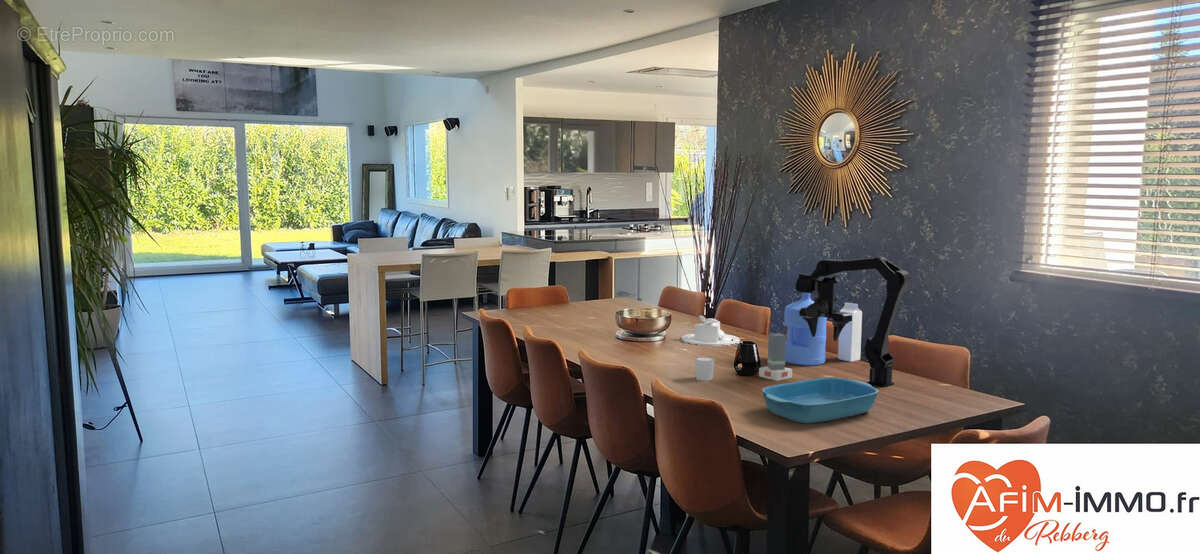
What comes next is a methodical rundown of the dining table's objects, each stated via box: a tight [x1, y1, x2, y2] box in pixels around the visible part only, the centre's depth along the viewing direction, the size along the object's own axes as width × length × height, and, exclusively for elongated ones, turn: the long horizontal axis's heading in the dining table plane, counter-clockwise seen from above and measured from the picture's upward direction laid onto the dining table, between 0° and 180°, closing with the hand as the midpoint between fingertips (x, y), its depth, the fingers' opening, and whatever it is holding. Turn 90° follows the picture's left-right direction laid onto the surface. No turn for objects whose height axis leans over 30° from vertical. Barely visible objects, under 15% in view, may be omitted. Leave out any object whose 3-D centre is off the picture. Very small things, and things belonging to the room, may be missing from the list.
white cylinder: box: [694, 356, 715, 382], centre depth 281 cm, size 7×7×7 cm
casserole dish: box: [761, 376, 879, 424], centre depth 242 cm, size 37×22×7 cm, turn 119°
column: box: [767, 332, 787, 370], centre depth 284 cm, size 5×5×12 cm
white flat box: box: [758, 365, 793, 382], centre depth 285 cm, size 8×8×3 cm
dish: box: [681, 315, 741, 347], centre depth 350 cm, size 25×25×11 cm
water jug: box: [783, 293, 828, 367], centre depth 308 cm, size 16×16×28 cm
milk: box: [837, 302, 863, 363], centre depth 312 cm, size 6×6×22 cm
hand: (824, 338), depth 287 cm, fingers open, 9 cm apart
